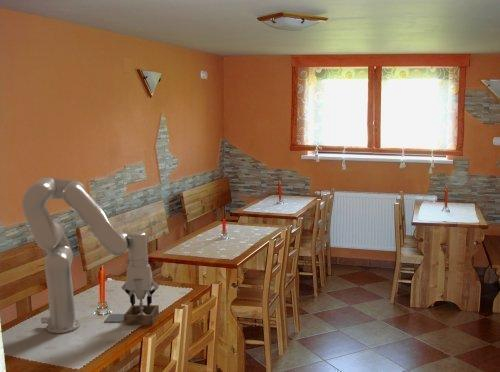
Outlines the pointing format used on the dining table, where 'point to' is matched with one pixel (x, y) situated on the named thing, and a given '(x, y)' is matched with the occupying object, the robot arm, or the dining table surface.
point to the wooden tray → (135, 319)
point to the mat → (115, 318)
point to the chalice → (139, 294)
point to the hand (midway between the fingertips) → (141, 304)
